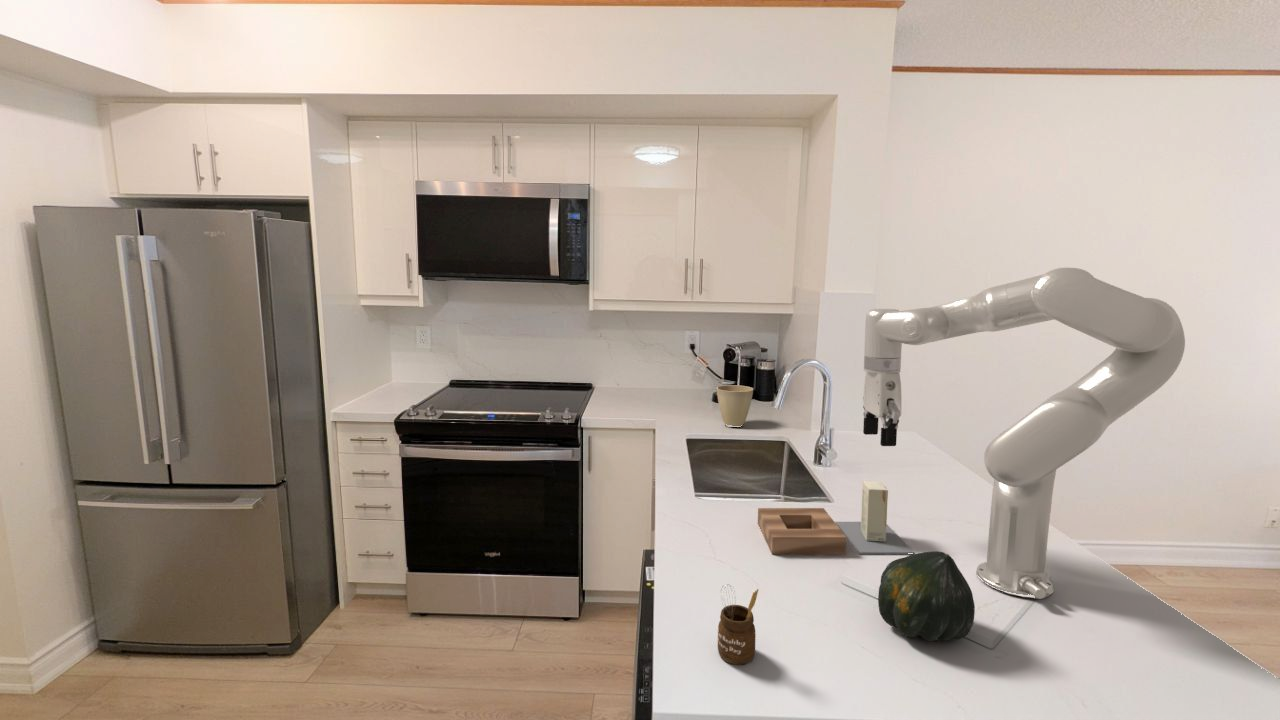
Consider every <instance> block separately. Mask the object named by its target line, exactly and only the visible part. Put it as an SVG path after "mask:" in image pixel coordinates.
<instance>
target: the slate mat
mask: <svg viewBox="0 0 1280 720" xmlns="http://www.w3.org/2000/svg"><path fill="white" fill-rule="evenodd" d="M834 522H835V523H836V525H837V526H838V527H839V528H840V530H841V531H842V532H843V533H844V535H845V536H846V540H847V541H848V542H849V543H850V544H851V546H852V547H853V548H854V549H855V551H856V553H857V554H858V555H865V556H866V555H867V556H868V555H871V556H873V555H876V554H878V555H879V556H880V555H881V554H908V553H913V554H916V553H915V551H914V550H913V549H912V548H911V547H910V546H909V545H908V544H907V543H906V542H905V541H904V540H903V539H902V538H901V537H900V536H899V535H898V534H897V533H896V532H895V530H894V529H892V528H891V526H889V525H888V523H886V541H885V542H883V541H867V540H866V539H865V537H864V535H863V533H862V532H861V521H834ZM876 556H877V555H876Z"/></svg>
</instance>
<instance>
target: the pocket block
mask: <svg viewBox="0 0 1280 720" xmlns="http://www.w3.org/2000/svg"><path fill="white" fill-rule="evenodd" d="M835 522H836V521H834V519H833V518H832V517H831V516H830V515H829V513H828V512H827V510H826V509H825V508H824V507H803V508H802V507H758V508H757V525H758V527H760V528H759V529H761V530H760V532H761V534H762V536H763V538H764V540H765V543H766V545H767V546H768V550H769V551H770V553H771V555H774V556H775V555H779V556H781V555H783V556H784V555H785V556H786V555H792V556H793V555H794V556H795V555H802V556H803V555H807V556H809V555H812V556H813V555H827V556H828V555H839V556H840V555H842V556H843V555H846V554H847V553H846V551H847V538H846V536H845V535H844V533H843V532H842V531H841V530H840V528H839V527H838V526H837V525H836V523H835Z"/></svg>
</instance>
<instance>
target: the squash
mask: <svg viewBox="0 0 1280 720" xmlns="http://www.w3.org/2000/svg"><path fill="white" fill-rule="evenodd" d="M877 595H878V597H877V603H878V609H879V613H880V616H881V618H882V620H883V621H884V622H885V623H886V624H887V625H888V626H890V627H892V628H894V629H897V630H898V631H899V632H900V633H901V635H903V636H907V637H909V638H916V637H918V636H921V637H922V638H923V640H925V641H928V642H936V640H937V641H948V640H953V641H955V640H961V639H963V638H965V637H966V636H968V635H969V634H970V633H971V632H970V631H971V630H972V628H973V625H974V620H975V614H976V613H975V612H976V611H975V609H976V608H975V601H974V596H973V591H972V590H971V587H970V584H969V583H968V581H967V580H966V578H965V576H964V575H963V573H962V572H961V570H960V569H959V567H958V565H957V564H956V562H955V560H954V559H953V558H952V556H950V554H948V553H946V552H944V551H938V550H936V551H935V550H933V551H924V552H918V553H915V554H914V555H907V556H904V557H900V558H898V559H895V560H892V561H890V562H889V563H888V564H887V565H886V566H885V569H884V570H883V572H882V573H881V576H880V585H879V587H878V594H877Z"/></svg>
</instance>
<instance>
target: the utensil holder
mask: <svg viewBox="0 0 1280 720" xmlns="http://www.w3.org/2000/svg"><path fill="white" fill-rule="evenodd" d="M728 587H730V591H731V593H732V594H735V593H736V591H735V588H734V587H732V585H731V584H729V583H728V584H723V585H721V589H720V592H723V590H726V589H727V591H728V593H730V591H729V588H728ZM722 589H723V590H722ZM727 591H726V592H725V593H726V595H728V593H727ZM758 593H759V588H757V589H756V590H755V591H754V592H753V593H752V595H751V598H750V601H749V605H748V607H746V606H743V605H740V604H736V603H737V600H736V598H737V597H736V595H734V596H731V595H728V596H729V598H731V597H732V598H731V599H732V602H731V601H730V605H729V603H727V604H728V605H726V603H725V602H726V600H725V598H724V596H721V598H720V599H721V601H722V602H721V603H722V605H723V608H722V609H721V611H720V616H719V617H720V618H719V619H720V620H719V623H718V625H717V652H718V654H719V656H720V658H721V659H722V660H724V661H725V662H727V663H729V664H731V665H745V664H746V665H747V664H748V663H750V662H751V661H752V660H753V659H754V657H755V653H756V628H755V627H756V626H755V623H754V614H753V612H752V610H753V608H754V606H755V603H756V600H757V597H758ZM730 596H731V597H730ZM733 597H734V598H733ZM727 601H729V600H728V598H727ZM733 603H734V604H733Z"/></svg>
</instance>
